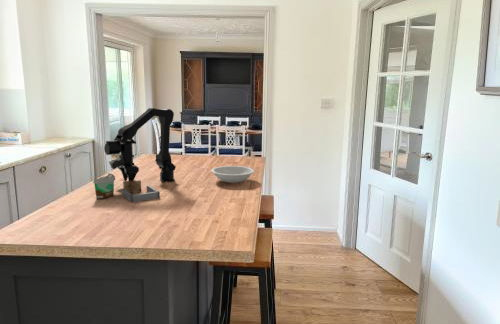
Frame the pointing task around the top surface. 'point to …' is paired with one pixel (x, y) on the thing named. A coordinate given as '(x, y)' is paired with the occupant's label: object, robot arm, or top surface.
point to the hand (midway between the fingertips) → (128, 182)
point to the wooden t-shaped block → (132, 186)
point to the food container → (104, 187)
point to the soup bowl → (232, 173)
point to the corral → (142, 195)
